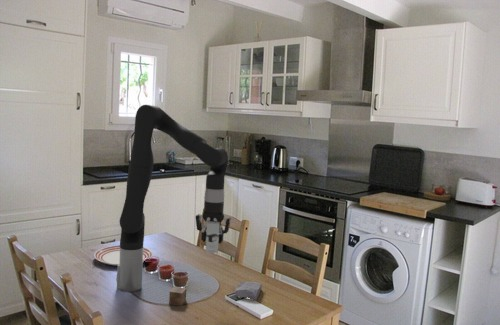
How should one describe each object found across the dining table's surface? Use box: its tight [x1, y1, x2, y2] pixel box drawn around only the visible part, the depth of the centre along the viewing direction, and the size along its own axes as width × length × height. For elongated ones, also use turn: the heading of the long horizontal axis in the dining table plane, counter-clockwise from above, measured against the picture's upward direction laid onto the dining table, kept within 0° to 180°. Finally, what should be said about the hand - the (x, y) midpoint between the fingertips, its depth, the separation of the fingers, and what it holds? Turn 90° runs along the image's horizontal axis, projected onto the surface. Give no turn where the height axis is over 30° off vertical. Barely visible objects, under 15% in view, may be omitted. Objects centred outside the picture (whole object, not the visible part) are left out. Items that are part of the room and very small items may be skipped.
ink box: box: [205, 221, 219, 254], centre depth 172 cm, size 8×5×12 cm, turn 5°
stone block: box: [234, 281, 262, 301], centre depth 183 cm, size 12×5×10 cm
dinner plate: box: [93, 244, 154, 267], centre depth 215 cm, size 27×27×3 cm
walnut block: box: [168, 286, 187, 307], centre depth 171 cm, size 5×5×5 cm
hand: (212, 242), depth 172 cm, fingers closed on ink box, 5 cm apart
